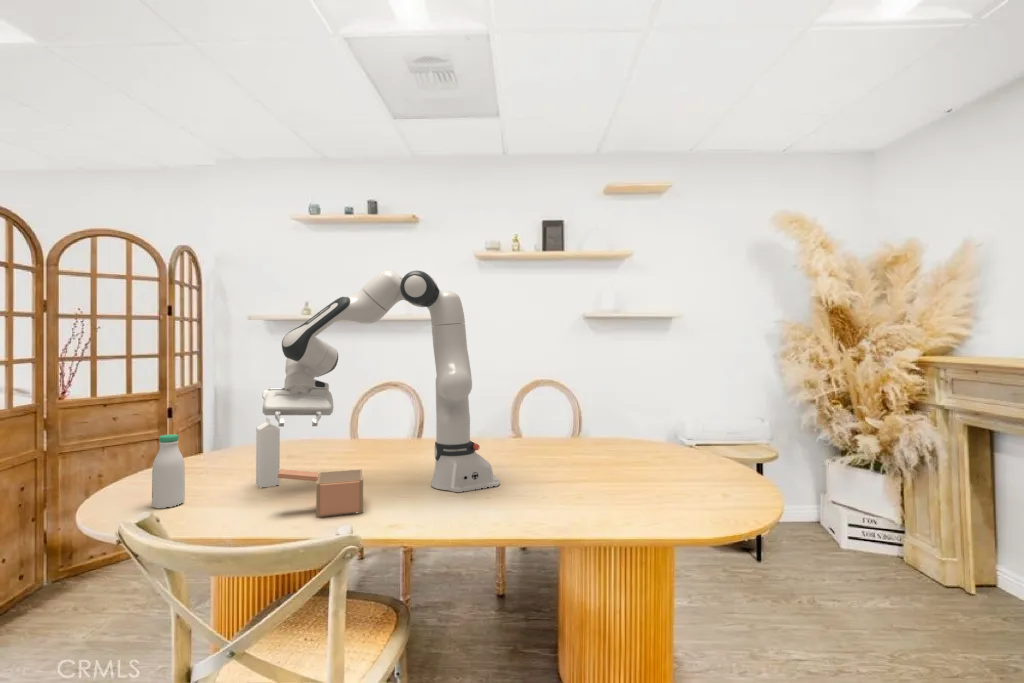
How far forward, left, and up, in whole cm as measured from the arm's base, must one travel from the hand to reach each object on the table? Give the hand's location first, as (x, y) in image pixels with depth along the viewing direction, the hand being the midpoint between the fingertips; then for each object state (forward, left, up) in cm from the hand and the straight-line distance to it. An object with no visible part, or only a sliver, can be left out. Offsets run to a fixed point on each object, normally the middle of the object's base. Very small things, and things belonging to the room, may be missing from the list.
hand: (298, 425), depth 150 cm
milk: (+11, -16, -22) cm, 29 cm away
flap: (-6, +15, -12) cm, 20 cm away
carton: (-12, +15, -22) cm, 29 cm away
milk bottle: (+35, -3, -22) cm, 41 cm away
